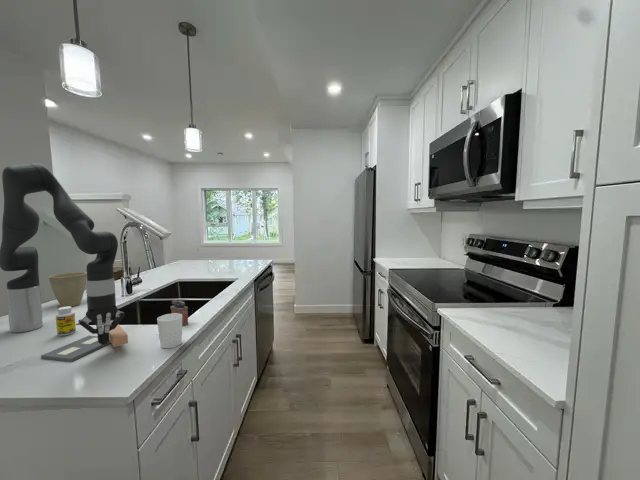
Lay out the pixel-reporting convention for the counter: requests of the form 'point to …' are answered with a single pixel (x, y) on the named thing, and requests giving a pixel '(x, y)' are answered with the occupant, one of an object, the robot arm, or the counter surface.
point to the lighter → (180, 311)
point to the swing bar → (118, 336)
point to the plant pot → (68, 287)
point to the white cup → (170, 330)
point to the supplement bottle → (65, 321)
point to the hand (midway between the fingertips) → (103, 343)
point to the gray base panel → (75, 349)
